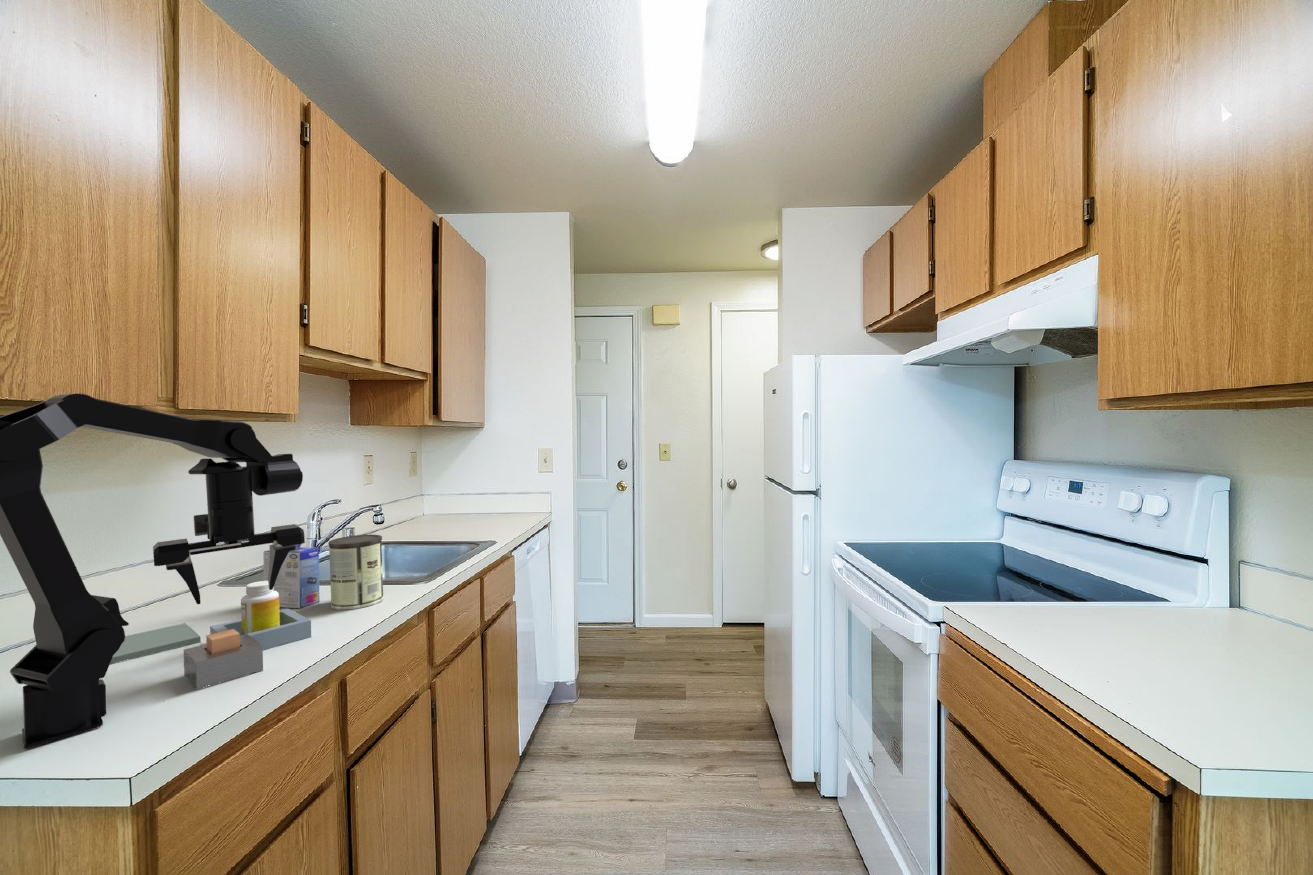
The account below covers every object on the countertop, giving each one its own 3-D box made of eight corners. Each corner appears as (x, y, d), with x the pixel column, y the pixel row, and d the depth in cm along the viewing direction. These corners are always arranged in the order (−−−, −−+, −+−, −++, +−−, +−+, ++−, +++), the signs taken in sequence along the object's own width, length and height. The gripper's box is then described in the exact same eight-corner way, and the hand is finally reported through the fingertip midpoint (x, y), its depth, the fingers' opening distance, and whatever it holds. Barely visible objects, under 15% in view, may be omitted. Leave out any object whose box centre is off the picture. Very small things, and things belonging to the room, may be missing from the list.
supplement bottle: (287, 634, 99) (286, 579, 99) (263, 646, 94) (261, 587, 94) (259, 633, 100) (258, 579, 100) (233, 645, 94) (232, 587, 94)
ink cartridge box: (321, 601, 120) (320, 536, 120) (300, 609, 114) (299, 541, 114) (284, 599, 122) (283, 535, 122) (262, 607, 116) (260, 540, 116)
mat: (105, 665, 87) (105, 659, 87) (96, 648, 95) (96, 642, 95) (200, 641, 97) (200, 636, 96) (185, 628, 104) (185, 622, 104)
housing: (229, 659, 89) (228, 640, 88) (210, 642, 96) (210, 625, 96) (311, 636, 98) (310, 620, 98) (288, 623, 105) (287, 608, 105)
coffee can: (345, 596, 123) (343, 535, 123) (391, 594, 124) (389, 533, 124) (319, 611, 113) (318, 544, 113) (370, 609, 113) (368, 542, 113)
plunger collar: (196, 690, 78) (196, 662, 78) (184, 675, 83) (183, 649, 83) (263, 670, 84) (262, 644, 84) (247, 657, 89) (247, 633, 89)
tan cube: (212, 660, 81) (211, 640, 81) (206, 654, 83) (206, 635, 83) (240, 652, 83) (239, 633, 83) (233, 647, 86) (233, 628, 86)
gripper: (289, 489, 98) (294, 574, 99) (150, 503, 85) (156, 600, 86) (302, 494, 90) (307, 586, 91) (150, 510, 77) (157, 616, 78)
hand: (236, 596), depth 87 cm, fingers open, 9 cm apart
